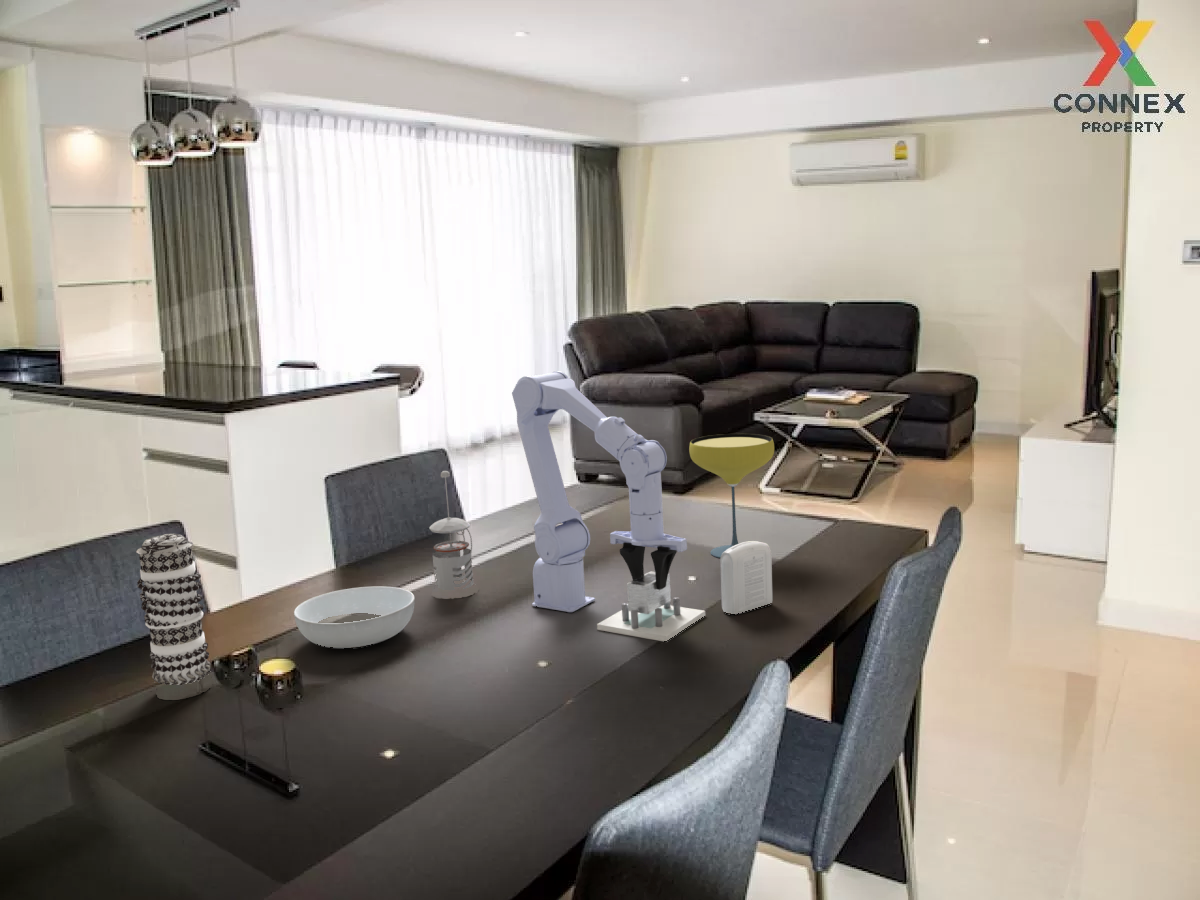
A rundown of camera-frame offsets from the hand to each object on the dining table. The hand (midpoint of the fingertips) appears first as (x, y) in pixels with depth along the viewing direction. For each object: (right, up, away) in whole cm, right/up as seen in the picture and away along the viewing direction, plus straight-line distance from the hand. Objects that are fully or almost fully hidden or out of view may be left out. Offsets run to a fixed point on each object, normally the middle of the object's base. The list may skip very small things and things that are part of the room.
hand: (650, 586), depth 173 cm
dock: (0, -7, +1) cm, 7 cm away
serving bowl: (-52, -10, +2) cm, 53 cm away
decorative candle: (-75, -14, -17) cm, 78 cm away
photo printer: (+18, -5, +6) cm, 20 cm away
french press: (-38, -5, +27) cm, 47 cm away
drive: (0, -3, 0) cm, 3 cm away
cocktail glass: (+21, +1, +42) cm, 47 cm away
